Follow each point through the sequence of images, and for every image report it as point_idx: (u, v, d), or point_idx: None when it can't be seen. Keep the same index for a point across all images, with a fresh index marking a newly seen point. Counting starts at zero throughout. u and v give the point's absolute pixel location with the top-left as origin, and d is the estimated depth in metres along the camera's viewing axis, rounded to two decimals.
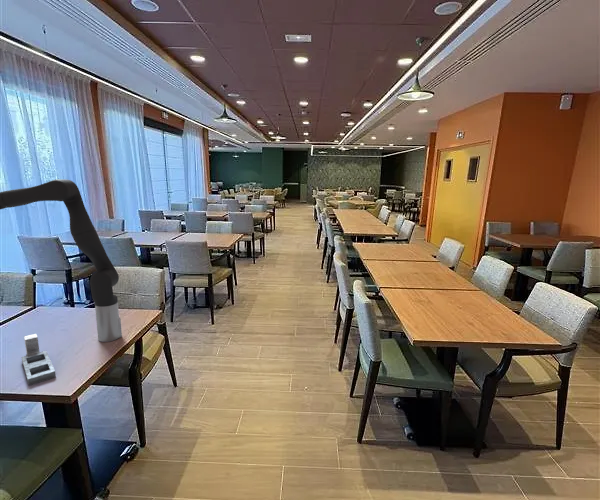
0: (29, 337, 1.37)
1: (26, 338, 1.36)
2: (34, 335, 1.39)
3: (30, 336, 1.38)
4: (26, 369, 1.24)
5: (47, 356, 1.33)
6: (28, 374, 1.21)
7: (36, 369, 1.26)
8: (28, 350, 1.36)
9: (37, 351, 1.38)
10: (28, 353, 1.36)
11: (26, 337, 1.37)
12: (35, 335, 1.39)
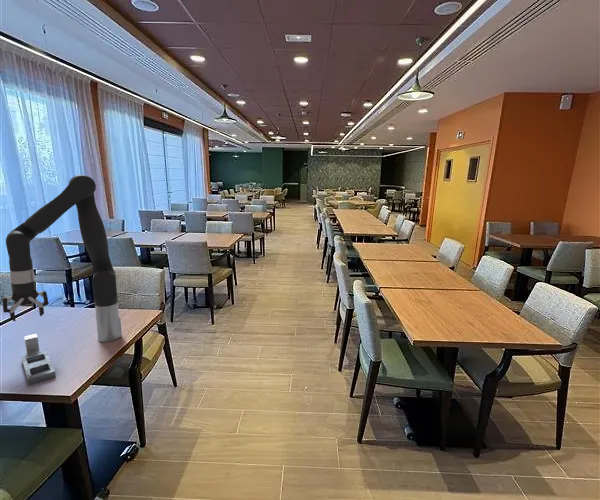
0: (29, 337, 1.37)
1: (26, 338, 1.36)
2: (34, 335, 1.39)
3: (30, 336, 1.38)
4: (26, 369, 1.24)
5: (47, 356, 1.33)
6: (28, 374, 1.21)
7: (36, 369, 1.26)
8: (28, 350, 1.36)
9: (37, 351, 1.38)
10: (28, 353, 1.36)
11: (26, 337, 1.37)
12: (35, 335, 1.39)
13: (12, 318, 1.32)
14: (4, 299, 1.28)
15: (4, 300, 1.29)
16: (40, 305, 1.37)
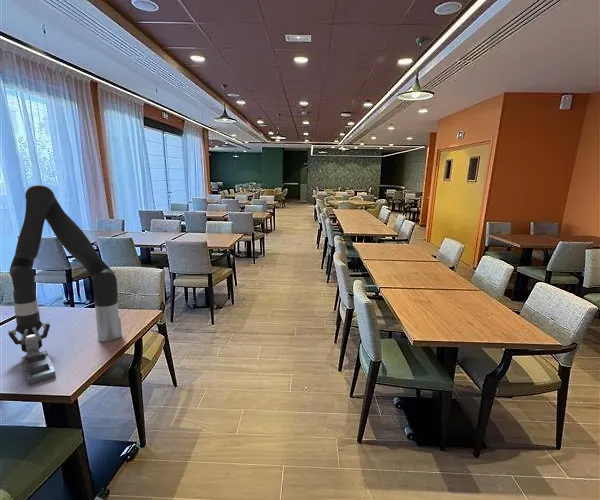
0: (29, 337, 1.37)
1: (26, 338, 1.36)
2: (34, 335, 1.39)
3: (30, 336, 1.38)
4: (26, 369, 1.24)
5: (47, 356, 1.33)
6: (28, 374, 1.21)
7: (36, 369, 1.26)
8: (28, 350, 1.36)
9: (37, 351, 1.38)
10: (28, 353, 1.36)
11: (26, 337, 1.37)
12: (35, 335, 1.39)
13: (23, 349, 1.36)
14: (10, 334, 1.32)
15: (10, 334, 1.32)
16: (39, 338, 1.39)
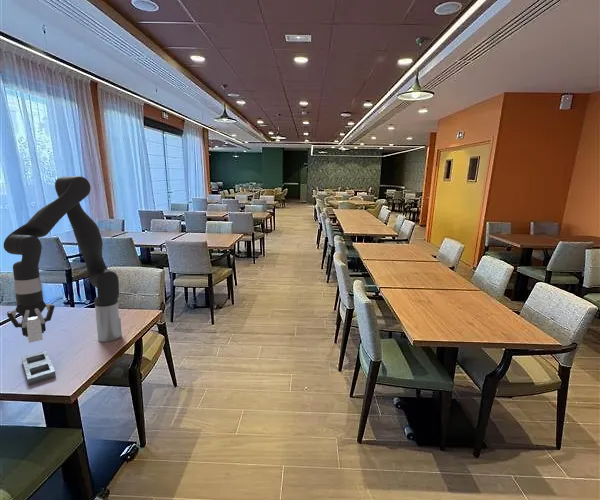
0: (30, 319, 1.20)
1: None
2: (36, 317, 1.21)
3: (32, 318, 1.20)
4: (26, 369, 1.24)
5: (47, 356, 1.33)
6: (28, 374, 1.21)
7: (36, 369, 1.26)
8: (29, 334, 1.19)
9: (40, 336, 1.21)
10: (29, 338, 1.19)
11: None
12: (37, 317, 1.21)
13: (24, 333, 1.19)
14: (9, 315, 1.14)
15: (9, 316, 1.15)
16: (42, 321, 1.21)
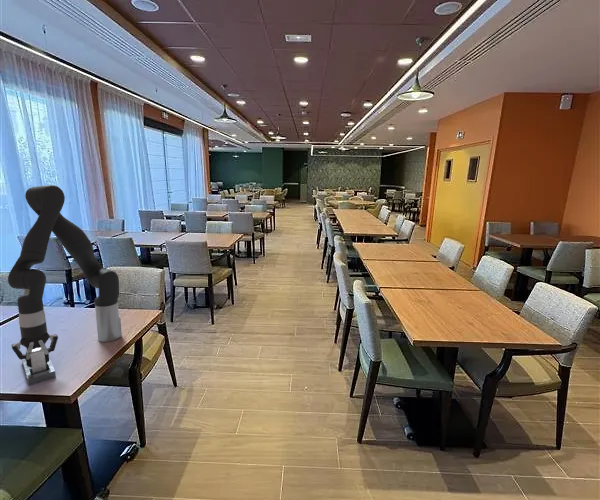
0: (34, 350, 1.22)
1: None
2: (40, 348, 1.24)
3: (36, 349, 1.23)
4: (26, 369, 1.24)
5: None
6: (28, 374, 1.21)
7: None
8: (33, 365, 1.21)
9: (43, 366, 1.23)
10: (33, 369, 1.21)
11: None
12: (41, 348, 1.24)
13: (28, 365, 1.21)
14: (13, 347, 1.17)
15: (14, 348, 1.17)
16: (46, 351, 1.24)
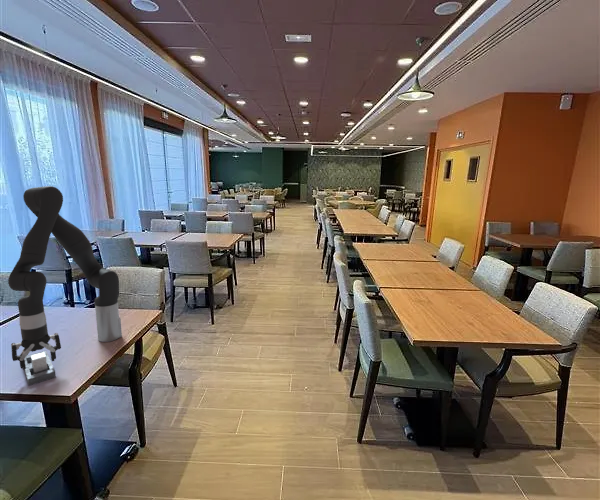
0: (36, 356, 1.23)
1: (33, 358, 1.22)
2: (42, 354, 1.24)
3: (38, 355, 1.23)
4: (26, 369, 1.24)
5: (47, 356, 1.33)
6: (28, 374, 1.21)
7: None
8: (36, 371, 1.22)
9: None
10: None
11: (33, 357, 1.23)
12: (43, 354, 1.24)
13: (22, 366, 1.20)
14: (13, 346, 1.17)
15: (13, 347, 1.17)
16: (52, 350, 1.25)
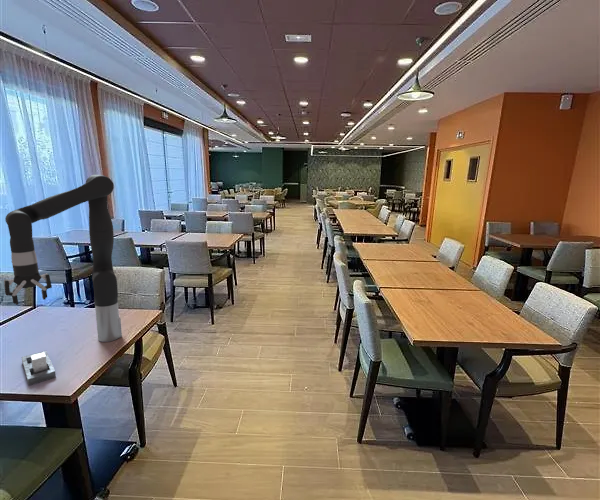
0: (36, 356, 1.23)
1: (33, 358, 1.22)
2: (42, 354, 1.24)
3: (38, 355, 1.23)
4: (26, 369, 1.24)
5: (47, 356, 1.33)
6: (28, 374, 1.21)
7: None
8: (36, 371, 1.22)
9: None
10: None
11: (33, 356, 1.23)
12: (43, 354, 1.24)
13: (15, 301, 1.28)
14: (6, 281, 1.24)
15: (6, 283, 1.25)
16: (43, 288, 1.33)
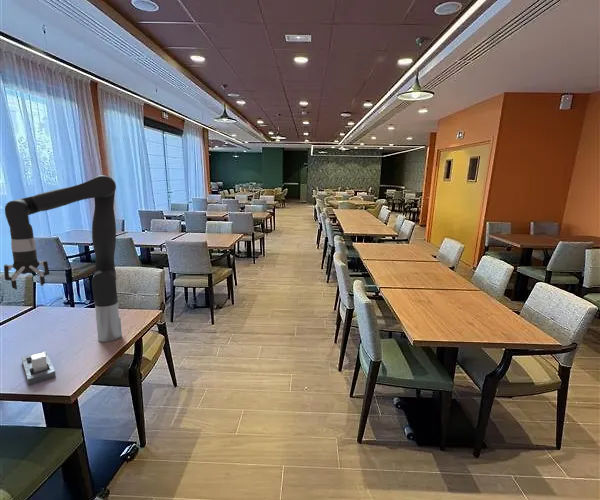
0: (36, 356, 1.23)
1: (33, 358, 1.22)
2: (42, 354, 1.24)
3: (38, 355, 1.23)
4: (26, 369, 1.24)
5: (47, 356, 1.33)
6: (28, 374, 1.21)
7: None
8: (36, 371, 1.22)
9: None
10: None
11: (33, 356, 1.23)
12: (43, 354, 1.24)
13: (13, 286, 1.34)
14: (5, 267, 1.31)
15: (5, 268, 1.31)
16: (41, 274, 1.39)
